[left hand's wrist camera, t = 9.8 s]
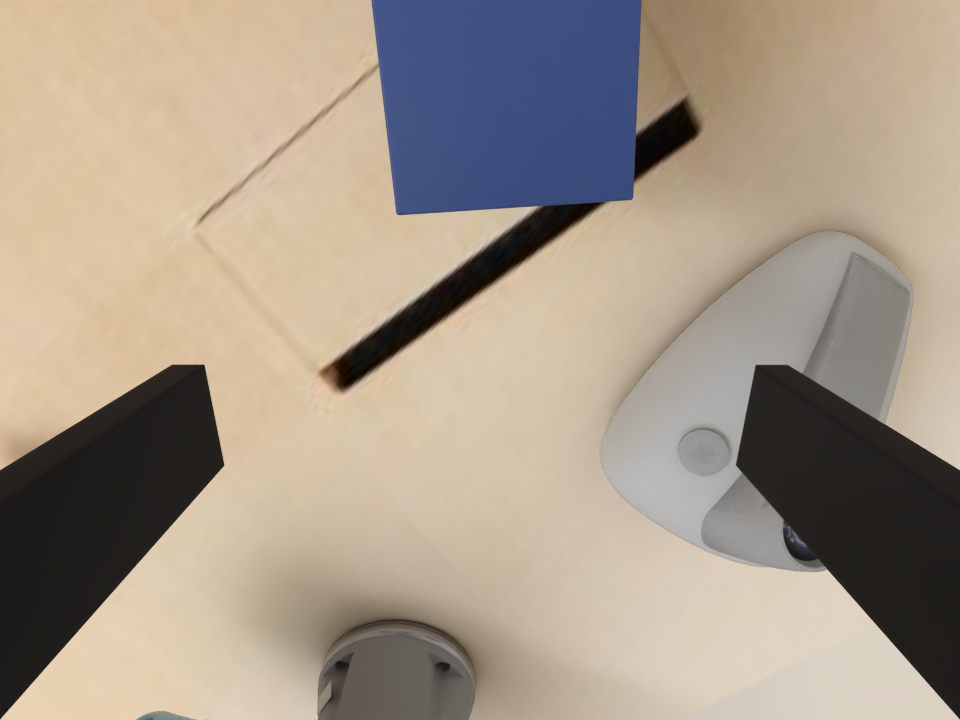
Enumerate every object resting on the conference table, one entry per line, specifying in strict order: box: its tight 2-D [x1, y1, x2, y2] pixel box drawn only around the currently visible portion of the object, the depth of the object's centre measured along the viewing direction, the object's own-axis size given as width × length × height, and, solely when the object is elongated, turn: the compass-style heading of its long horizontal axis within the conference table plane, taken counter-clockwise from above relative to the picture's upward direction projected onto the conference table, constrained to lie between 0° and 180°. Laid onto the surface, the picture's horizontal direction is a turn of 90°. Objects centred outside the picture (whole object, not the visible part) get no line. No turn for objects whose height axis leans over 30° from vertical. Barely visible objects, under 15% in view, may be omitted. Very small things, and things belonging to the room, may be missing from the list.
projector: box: [600, 231, 913, 572], centre depth 33 cm, size 22×23×15 cm
